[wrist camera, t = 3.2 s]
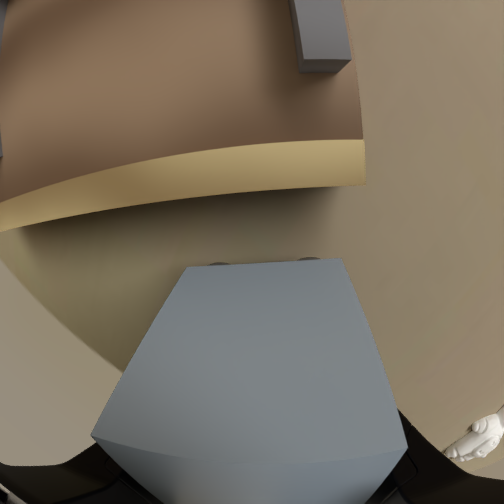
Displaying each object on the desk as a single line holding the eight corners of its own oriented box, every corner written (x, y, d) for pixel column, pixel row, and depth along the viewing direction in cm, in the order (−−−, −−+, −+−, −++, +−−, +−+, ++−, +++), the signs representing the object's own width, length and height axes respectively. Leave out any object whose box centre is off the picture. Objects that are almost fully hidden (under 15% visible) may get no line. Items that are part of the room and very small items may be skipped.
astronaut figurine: (436, 442, 17) (444, 467, 14) (539, 363, 13) (554, 384, 10) (454, 456, 19) (460, 476, 17) (537, 394, 15) (547, 412, 12)
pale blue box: (326, 391, 13) (337, 531, 6) (227, 394, 13) (200, 528, 7) (335, 245, 10) (407, 447, 3) (194, 254, 10) (90, 435, 4)
